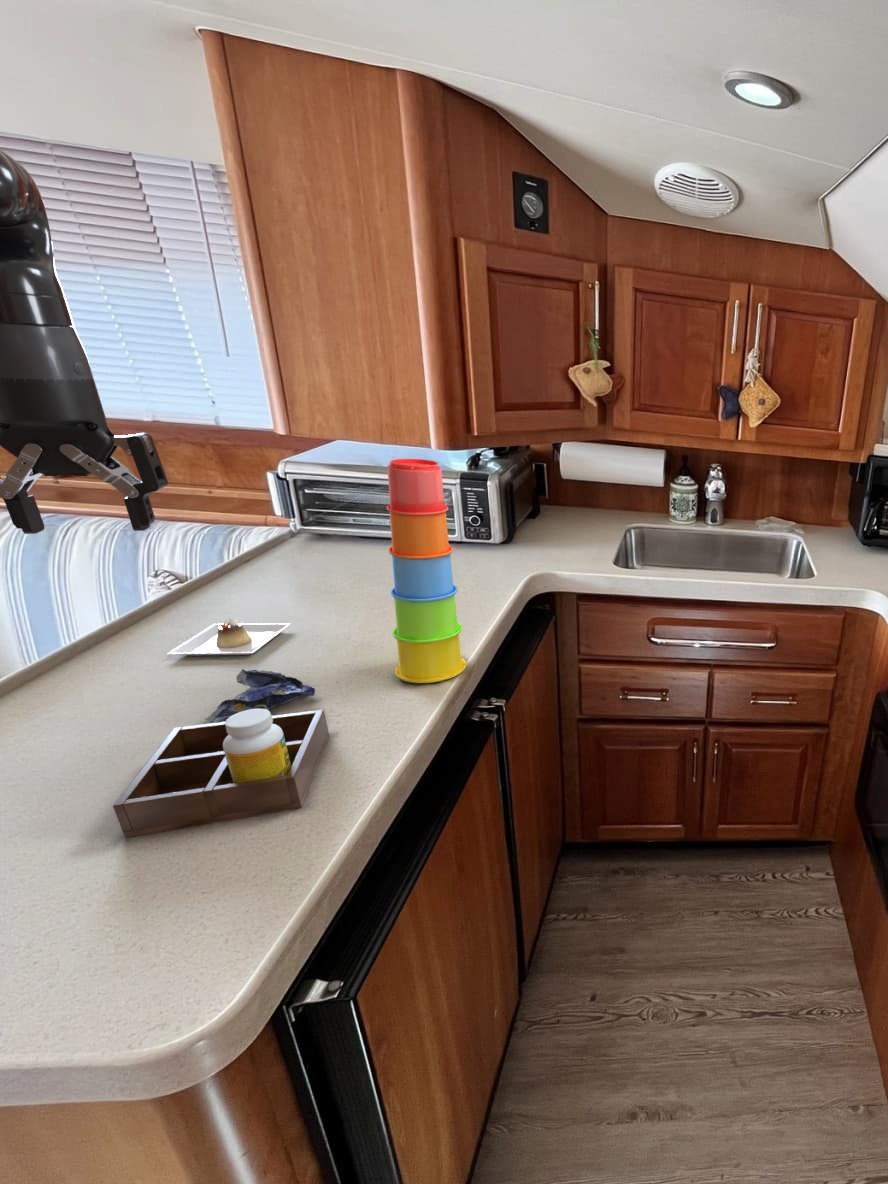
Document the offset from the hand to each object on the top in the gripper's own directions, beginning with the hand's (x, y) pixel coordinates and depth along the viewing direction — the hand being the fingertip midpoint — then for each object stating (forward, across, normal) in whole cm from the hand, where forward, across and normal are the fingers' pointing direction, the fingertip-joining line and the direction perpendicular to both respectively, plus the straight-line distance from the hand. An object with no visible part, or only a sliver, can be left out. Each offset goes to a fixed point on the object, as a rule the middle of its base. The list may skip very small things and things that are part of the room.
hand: (89, 530), depth 69 cm
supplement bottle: (+29, -13, +10) cm, 33 cm away
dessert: (+30, +3, -36) cm, 47 cm away
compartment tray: (+30, -9, +7) cm, 32 cm away
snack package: (+30, -7, -12) cm, 33 cm away
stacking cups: (+30, -28, -18) cm, 45 cm away
